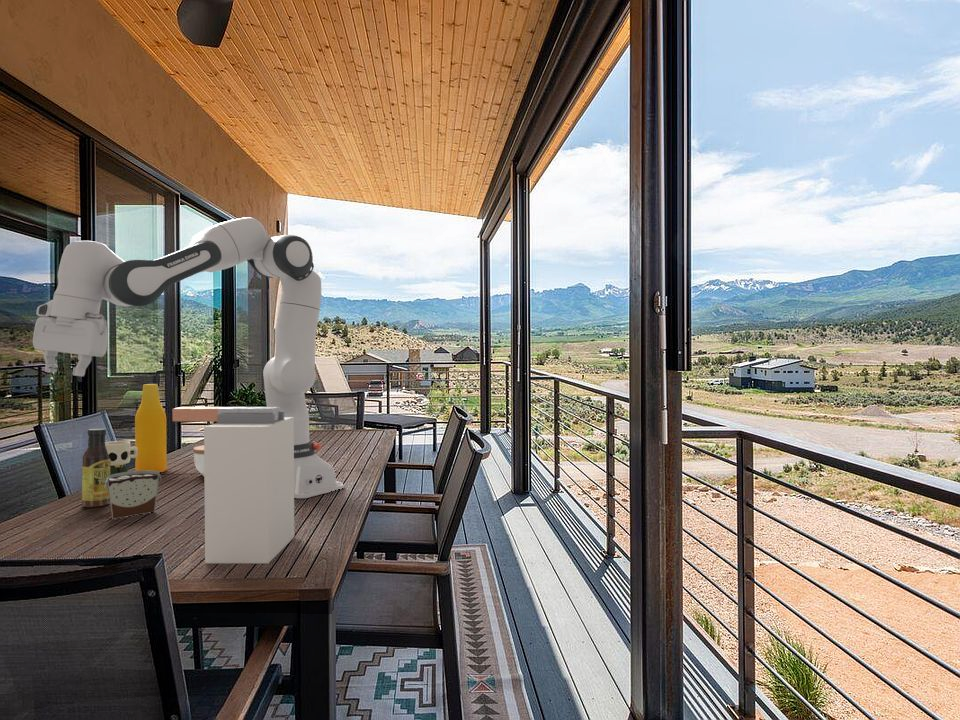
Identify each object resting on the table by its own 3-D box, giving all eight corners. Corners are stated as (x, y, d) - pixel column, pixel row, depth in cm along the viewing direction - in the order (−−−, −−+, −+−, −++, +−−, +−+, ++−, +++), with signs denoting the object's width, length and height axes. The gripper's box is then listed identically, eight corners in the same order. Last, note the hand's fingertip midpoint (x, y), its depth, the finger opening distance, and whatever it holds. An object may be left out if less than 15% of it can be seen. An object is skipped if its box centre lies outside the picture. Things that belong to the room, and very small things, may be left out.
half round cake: (154, 506, 156) (153, 468, 156) (161, 511, 152) (161, 471, 151) (98, 515, 147) (98, 475, 147) (105, 521, 143) (104, 478, 143)
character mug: (97, 491, 173) (97, 445, 173) (93, 486, 178) (93, 442, 178) (140, 485, 180) (140, 442, 180) (135, 481, 185) (134, 439, 185)
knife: (172, 421, 120) (172, 408, 120) (182, 418, 124) (182, 406, 124) (273, 421, 120) (272, 408, 120) (279, 418, 124) (279, 406, 124)
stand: (205, 563, 115) (203, 417, 114) (238, 537, 131) (237, 408, 130) (268, 563, 115) (267, 417, 114) (294, 537, 131) (293, 408, 130)
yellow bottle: (151, 468, 206) (150, 383, 206) (173, 469, 203) (172, 383, 203) (128, 473, 197) (127, 384, 197) (151, 475, 195) (150, 385, 194)
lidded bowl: (192, 480, 187) (192, 444, 187) (194, 472, 199) (193, 439, 198) (236, 477, 192) (236, 442, 192) (235, 469, 204) (235, 437, 203)
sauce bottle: (96, 509, 153) (95, 431, 153) (75, 507, 155) (74, 430, 154) (116, 502, 160) (115, 427, 159) (96, 501, 161) (95, 427, 161)
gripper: (120, 317, 132) (109, 379, 131) (61, 312, 141) (50, 371, 139) (92, 311, 127) (80, 376, 125) (32, 307, 135) (20, 368, 134)
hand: (64, 374), depth 132 cm, fingers open, 8 cm apart
